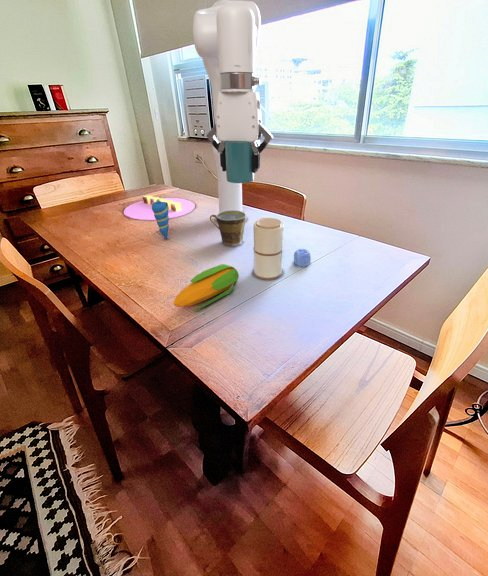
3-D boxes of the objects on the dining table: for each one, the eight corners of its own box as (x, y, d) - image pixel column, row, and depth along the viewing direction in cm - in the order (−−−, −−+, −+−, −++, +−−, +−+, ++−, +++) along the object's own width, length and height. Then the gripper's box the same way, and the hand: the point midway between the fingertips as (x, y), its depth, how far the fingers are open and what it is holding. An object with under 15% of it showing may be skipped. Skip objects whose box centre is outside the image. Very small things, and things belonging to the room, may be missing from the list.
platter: (164, 194, 156) (162, 188, 154) (209, 205, 141) (208, 198, 139) (108, 211, 134) (106, 203, 132) (155, 225, 119) (153, 217, 117)
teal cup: (231, 176, 78) (230, 138, 74) (257, 177, 77) (256, 139, 72) (222, 182, 73) (220, 142, 68) (249, 184, 71) (249, 142, 66)
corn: (245, 262, 76) (181, 295, 63) (247, 287, 80) (187, 324, 67) (225, 255, 80) (161, 285, 68) (228, 280, 84) (168, 312, 71)
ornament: (169, 242, 105) (161, 200, 97) (155, 241, 106) (146, 199, 98) (175, 237, 109) (168, 196, 101) (162, 236, 110) (154, 195, 102)
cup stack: (257, 264, 91) (257, 215, 83) (283, 267, 89) (286, 218, 81) (250, 277, 84) (249, 226, 76) (278, 281, 83) (281, 229, 74)
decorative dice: (305, 259, 93) (306, 248, 91) (309, 265, 90) (311, 254, 88) (293, 260, 93) (294, 249, 91) (297, 267, 90) (298, 255, 87)
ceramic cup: (250, 239, 107) (250, 211, 102) (240, 250, 99) (239, 221, 94) (217, 234, 111) (215, 208, 105) (205, 245, 103) (202, 217, 98)
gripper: (280, 84, 65) (277, 169, 75) (207, 85, 69) (213, 166, 79) (273, 83, 59) (271, 176, 69) (193, 84, 63) (201, 172, 73)
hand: (240, 170), depth 74 cm, fingers closed on teal cup, 7 cm apart
